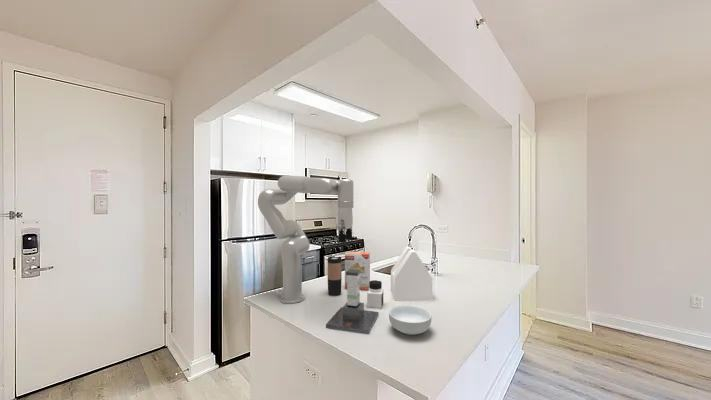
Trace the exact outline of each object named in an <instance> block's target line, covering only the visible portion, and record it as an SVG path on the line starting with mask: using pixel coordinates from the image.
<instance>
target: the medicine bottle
mask: <svg viewBox="0 0 711 400" xmlns="http://www.w3.org/2000/svg"><path fill="white" fill-rule="evenodd" d="M382 284H383V283H382V281H381V280H379V279H372V280H370V282H369V290H367V294H366V302H367V303H366V304H367V305H366V307H367V308H369V309H370V308H372V309H383V305H384V288H382V287H383V286H382Z"/></svg>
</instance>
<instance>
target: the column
mask: <svg viewBox="0 0 711 400" xmlns="http://www.w3.org/2000/svg"><path fill="white" fill-rule="evenodd" d="M360 273H361V270H356V269H349V270H348V271H347V272H346V275H347V289H346V290H347V291H346V293H347V294H346V298H347V299H346V300H347V301H346V303H347V305H349V306H358V304H359V303H361V302H360V297H361V294H360V293H361V292H360V291H361V290H360Z"/></svg>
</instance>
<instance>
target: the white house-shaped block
mask: <svg viewBox="0 0 711 400" xmlns="http://www.w3.org/2000/svg"><path fill="white" fill-rule="evenodd" d="M390 292H391V294H392V297H393V299H394V301H396V302H397V301H405V302H406V301H410V302H411V301H433V277H432V275H431V274H430V272H429V271H428V268H427V267H426V266H425V264H424V263H423V261H422V259H421V258H420V257H419V255H418V253H417V252H416V251H415V250H414V249H412V248H411V247H410V246H405V247H404V249H403V250H402V252H401V253H400V255H399V257H398V259H397V260H396V262H395V263H394V265H393V266H392V268H391V270H390Z"/></svg>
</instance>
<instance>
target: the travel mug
mask: <svg viewBox="0 0 711 400" xmlns="http://www.w3.org/2000/svg"><path fill="white" fill-rule="evenodd" d="M342 273H343V272H342V256H335V255H331V256H328V257H327V295H328V296H331V297H338V296H341V295H342V282H343V281H342V280H343V279H342V277H343V276H342V275H343V274H342Z"/></svg>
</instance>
